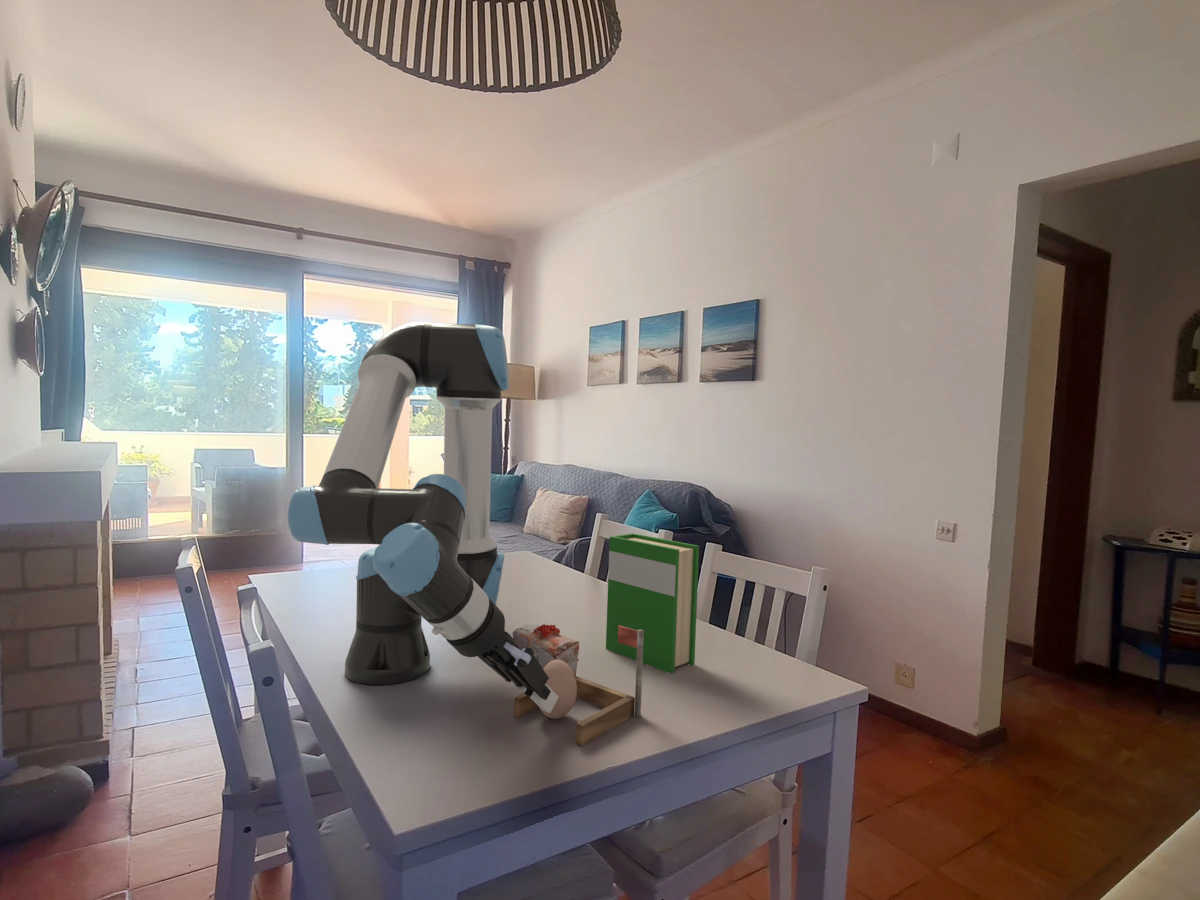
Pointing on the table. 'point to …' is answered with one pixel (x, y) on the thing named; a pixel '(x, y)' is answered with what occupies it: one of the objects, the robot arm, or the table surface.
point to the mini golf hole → (601, 696)
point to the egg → (561, 687)
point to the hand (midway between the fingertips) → (550, 703)
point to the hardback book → (653, 598)
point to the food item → (547, 644)
